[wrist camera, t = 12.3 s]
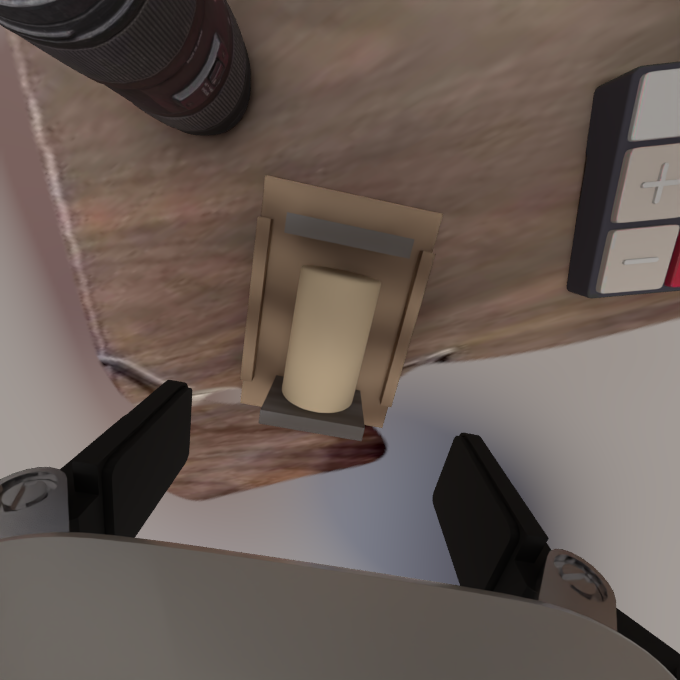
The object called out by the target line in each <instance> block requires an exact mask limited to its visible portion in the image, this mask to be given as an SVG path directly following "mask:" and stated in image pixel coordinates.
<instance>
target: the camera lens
mask: <svg viewBox="0 0 680 680" xmlns="http://www.w3.org/2000/svg"><path fill="white" fill-rule="evenodd" d="M0 25H2V26H3V27H5V28H6V29H8V30H10V31H12V32H14V33H15V34H17V35H19V36H20V37H22V38H24V39H25V40H27V41H28V42H30V43H31V44H33V45H35V46H36V47H38V48H39V49H41V50H43V51H44V52H46V53H48V54H49V55H51V56H52V57H54V58H56V59H57V60H59V61H60V62H62V63H64V64H65V65H67V66H69V67H71V68H72V69H74V70H76V71H77V72H79V73H81V74H83V75H85V76H87V77H88V78H90V79H92V80H94V81H96V82H98V83H102V84H104V85H106V86H107V87H109V88H110V89H112V90H113V91H115V92H116V93H118V94H120V95H121V96H123V97H124V98H126V99H127V100H129V101H131V102H132V103H133V104H134V105H136V106H137V107H138V108H140V109H141V110H143V111H144V112H146V113H147V114H149V115H151V116H152V117H154V118H156V119H157V120H159V121H161V122H162V123H164V124H166V125H168V126H171V127H173V128H176V129H178V130H181V131H183V132H185V133H189V134H193V135H216V134H221V133H223V132H226V131H228V130H229V129H231V128H232V127H234V126H235V125H236V124H237V123H238V122H239V121H240V119H241V118H242V116H243V115H244V113H245V111H246V108H247V106H248V103H249V98H250V89H251V87H250V74H251V73H250V64H249V58H248V54H247V50H246V47H245V44H244V42H243V38H242V36H241V32H240V30H239V27H238V24H237V22H236V19H235V17H234V15H233V13H232V11H231V9H230V7H229V5H228V3H227V1H226V0H0Z"/></svg>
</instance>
